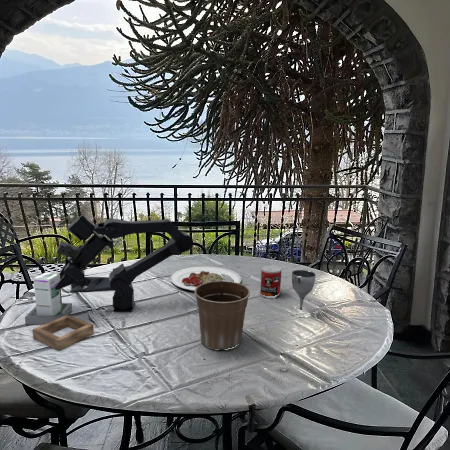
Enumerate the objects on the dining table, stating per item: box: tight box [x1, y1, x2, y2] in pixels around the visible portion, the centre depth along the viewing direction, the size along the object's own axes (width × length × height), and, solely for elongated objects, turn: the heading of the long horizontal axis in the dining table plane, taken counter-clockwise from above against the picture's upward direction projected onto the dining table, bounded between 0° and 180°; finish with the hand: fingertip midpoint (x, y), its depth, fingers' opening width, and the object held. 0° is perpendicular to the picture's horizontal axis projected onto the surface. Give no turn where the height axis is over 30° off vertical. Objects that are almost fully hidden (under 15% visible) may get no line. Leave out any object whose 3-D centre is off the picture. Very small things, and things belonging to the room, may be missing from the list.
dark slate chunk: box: [70, 276, 114, 293], centre depth 157 cm, size 15×22×5 cm
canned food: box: [259, 265, 282, 296], centre depth 152 cm, size 8×8×11 cm
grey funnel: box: [291, 269, 316, 310], centre depth 135 cm, size 8×8×15 cm
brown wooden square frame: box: [32, 314, 95, 351], centre depth 116 cm, size 12×12×3 cm
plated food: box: [170, 266, 242, 292], centre depth 166 cm, size 30×30×3 cm
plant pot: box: [194, 281, 251, 350], centre depth 115 cm, size 16×16×16 cm
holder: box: [24, 302, 73, 325], centre depth 128 cm, size 11×11×2 cm
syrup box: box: [33, 272, 63, 316], centre depth 127 cm, size 6×6×14 cm
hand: (56, 284), depth 127 cm, fingers open, 9 cm apart
